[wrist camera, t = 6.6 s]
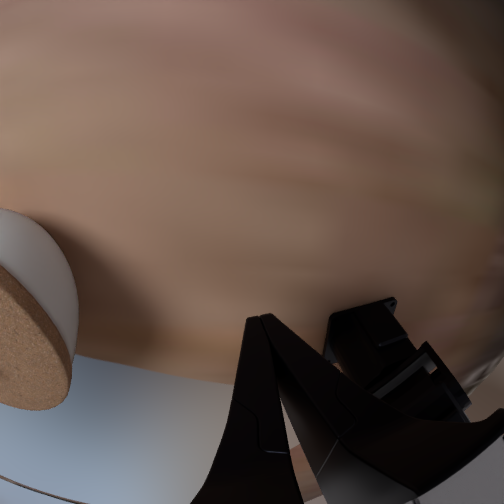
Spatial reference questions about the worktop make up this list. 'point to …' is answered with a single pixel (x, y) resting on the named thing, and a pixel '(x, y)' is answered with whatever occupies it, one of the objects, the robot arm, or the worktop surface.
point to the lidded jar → (35, 315)
